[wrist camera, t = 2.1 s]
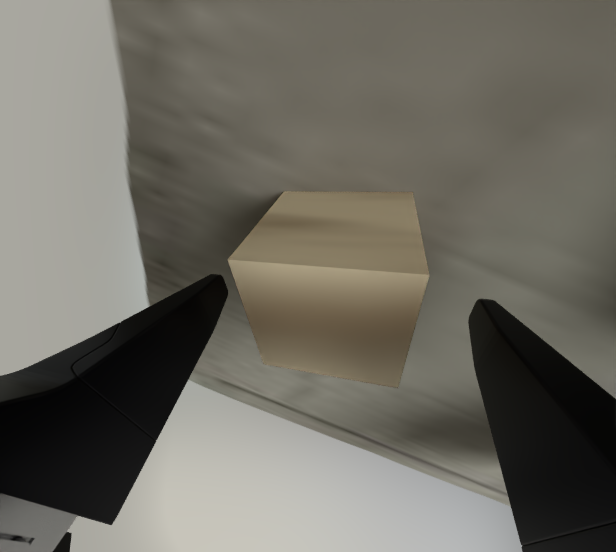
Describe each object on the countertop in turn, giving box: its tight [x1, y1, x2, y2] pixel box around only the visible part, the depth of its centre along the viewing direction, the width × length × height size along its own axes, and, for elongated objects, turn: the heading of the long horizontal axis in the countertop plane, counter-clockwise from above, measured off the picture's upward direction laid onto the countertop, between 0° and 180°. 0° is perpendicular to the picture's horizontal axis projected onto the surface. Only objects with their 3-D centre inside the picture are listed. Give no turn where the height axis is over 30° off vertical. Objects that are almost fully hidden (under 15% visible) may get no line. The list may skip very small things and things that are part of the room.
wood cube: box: [228, 192, 429, 388], centre depth 10 cm, size 5×5×5 cm
